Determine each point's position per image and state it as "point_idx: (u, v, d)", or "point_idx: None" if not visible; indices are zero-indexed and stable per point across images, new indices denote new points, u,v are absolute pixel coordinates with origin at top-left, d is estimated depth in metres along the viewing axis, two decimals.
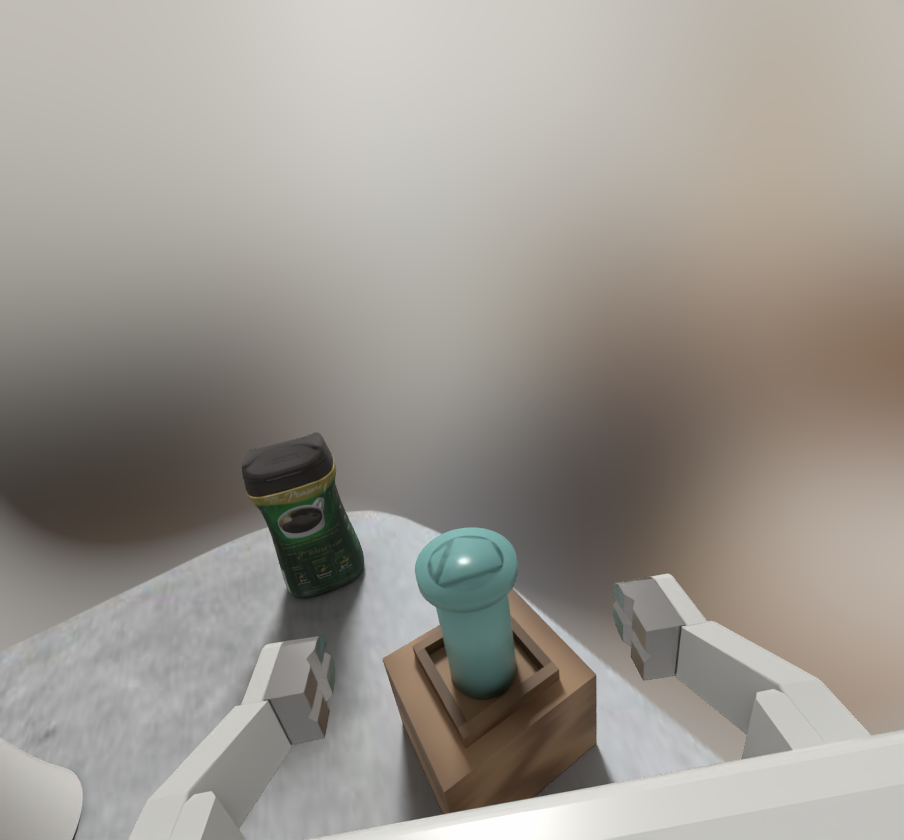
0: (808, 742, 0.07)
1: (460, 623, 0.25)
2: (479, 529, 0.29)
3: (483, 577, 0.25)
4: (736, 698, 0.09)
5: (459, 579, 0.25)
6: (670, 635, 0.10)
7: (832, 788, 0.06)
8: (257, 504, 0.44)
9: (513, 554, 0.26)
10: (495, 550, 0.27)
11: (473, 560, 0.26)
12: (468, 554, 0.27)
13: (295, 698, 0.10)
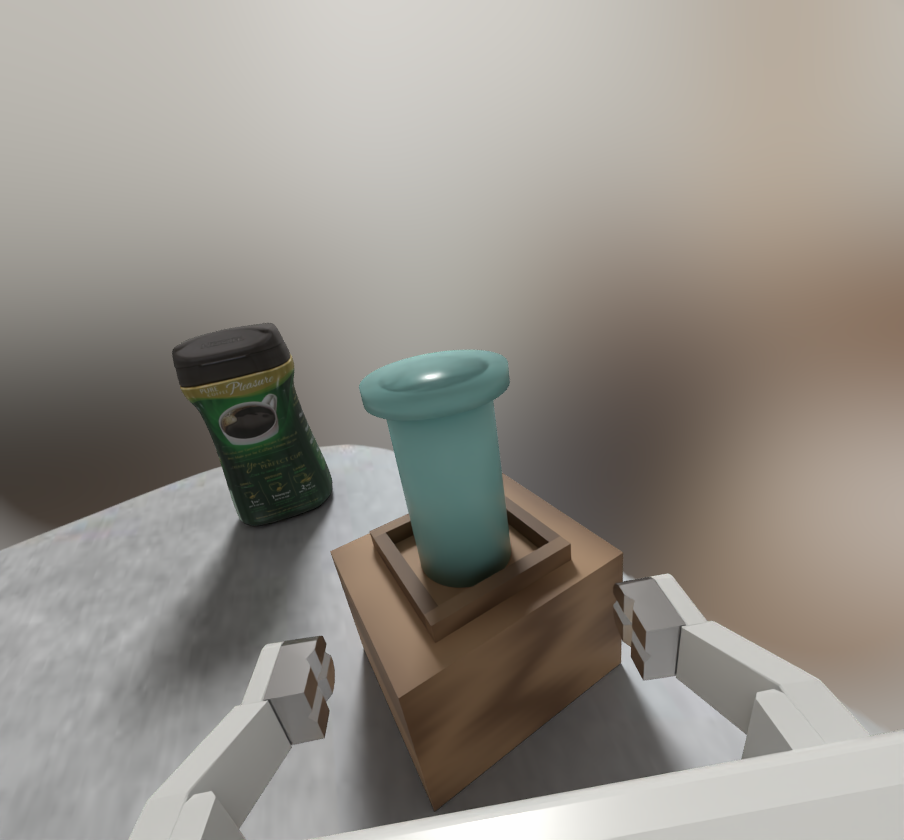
0: (808, 742, 0.07)
1: (425, 454, 0.17)
2: (456, 351, 0.20)
3: (457, 379, 0.17)
4: (736, 698, 0.09)
5: (422, 384, 0.17)
6: (670, 635, 0.10)
7: (832, 788, 0.06)
8: (192, 398, 0.36)
9: (503, 360, 0.18)
10: (476, 361, 0.18)
11: (444, 370, 0.18)
12: (438, 366, 0.18)
13: (295, 698, 0.10)
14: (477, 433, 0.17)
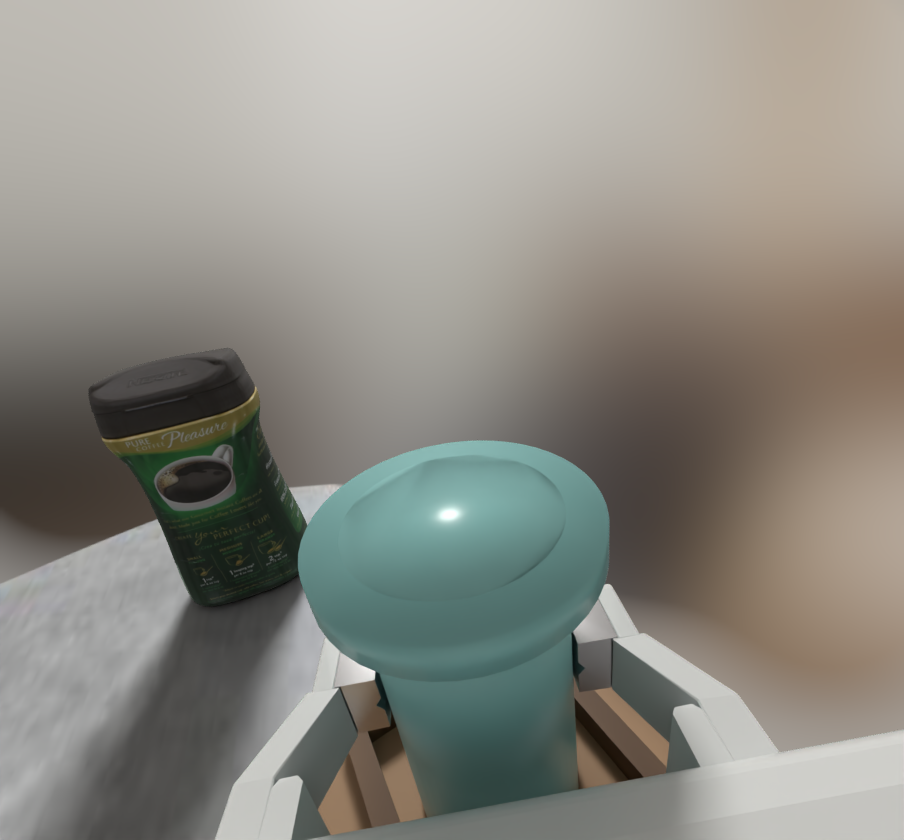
0: (717, 759, 0.07)
1: (433, 702, 0.08)
2: (487, 444, 0.11)
3: (507, 554, 0.08)
4: (663, 711, 0.09)
5: (428, 562, 0.08)
6: (603, 647, 0.10)
7: (832, 788, 0.06)
8: (117, 453, 0.27)
9: (591, 490, 0.09)
10: (534, 483, 0.09)
11: (473, 508, 0.09)
12: (459, 493, 0.09)
13: (366, 685, 0.10)
14: (544, 656, 0.08)
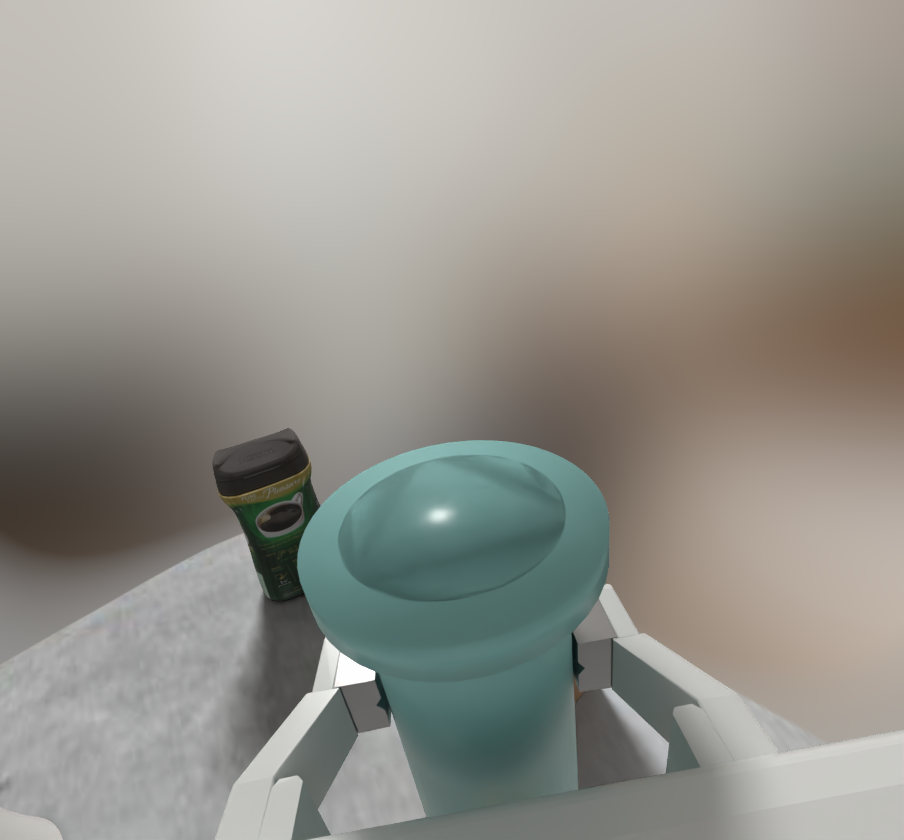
0: (716, 759, 0.07)
1: (433, 702, 0.08)
2: (487, 443, 0.11)
3: (507, 554, 0.08)
4: (663, 712, 0.09)
5: (428, 562, 0.08)
6: (602, 647, 0.10)
7: (832, 788, 0.06)
8: (232, 504, 0.42)
9: (591, 490, 0.09)
10: (535, 483, 0.09)
11: (473, 508, 0.09)
12: (459, 494, 0.09)
13: (365, 685, 0.10)
14: (544, 656, 0.08)
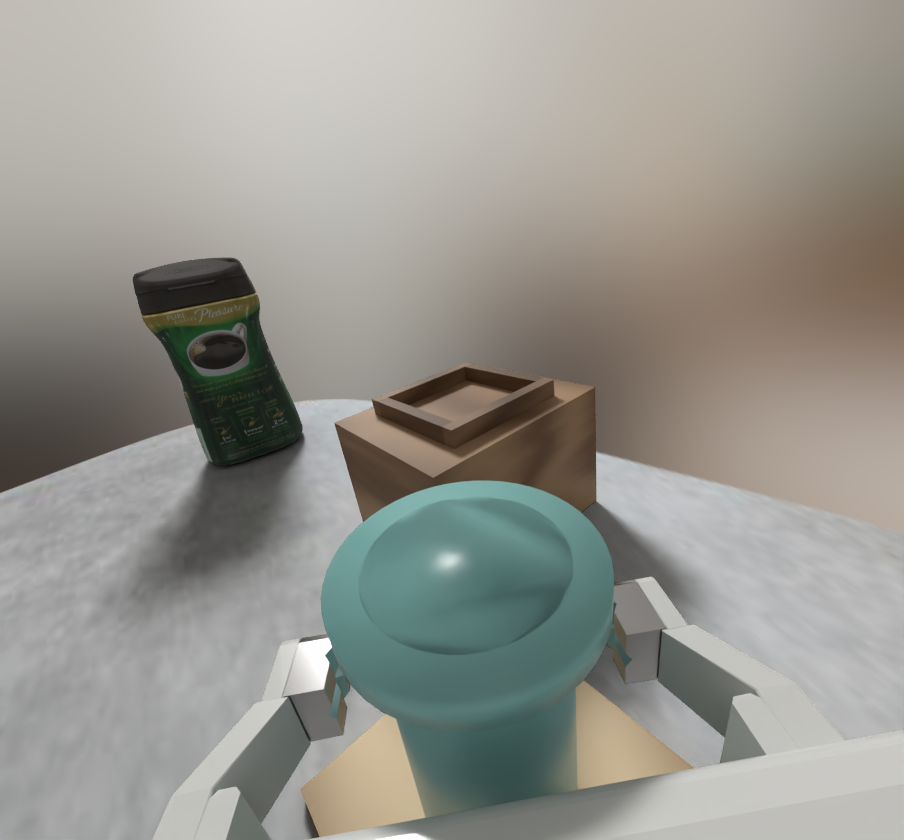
0: (782, 747, 0.07)
1: (447, 741, 0.09)
2: (496, 484, 0.12)
3: (519, 607, 0.08)
4: (715, 702, 0.09)
5: (445, 612, 0.08)
6: (651, 639, 0.10)
7: (832, 788, 0.06)
8: (157, 327, 0.35)
9: (596, 540, 0.09)
10: (543, 530, 0.10)
11: (485, 555, 0.09)
12: (471, 539, 0.10)
13: (315, 694, 0.10)
14: None
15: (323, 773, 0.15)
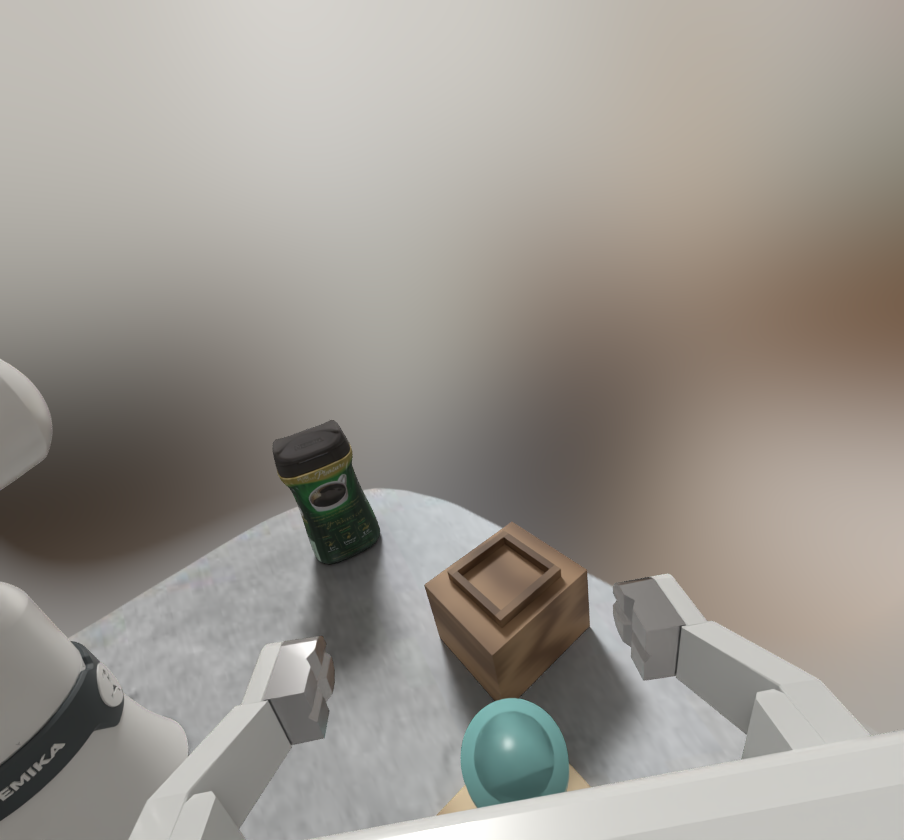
0: (808, 742, 0.07)
1: None
2: (525, 703, 0.27)
3: (534, 784, 0.24)
4: (736, 698, 0.09)
5: (508, 784, 0.24)
6: (670, 635, 0.10)
7: (832, 788, 0.06)
8: (290, 484, 0.51)
9: (564, 749, 0.25)
10: (544, 740, 0.25)
11: (521, 753, 0.25)
12: (515, 742, 0.26)
13: (295, 697, 0.10)
14: None
15: (443, 810, 0.31)
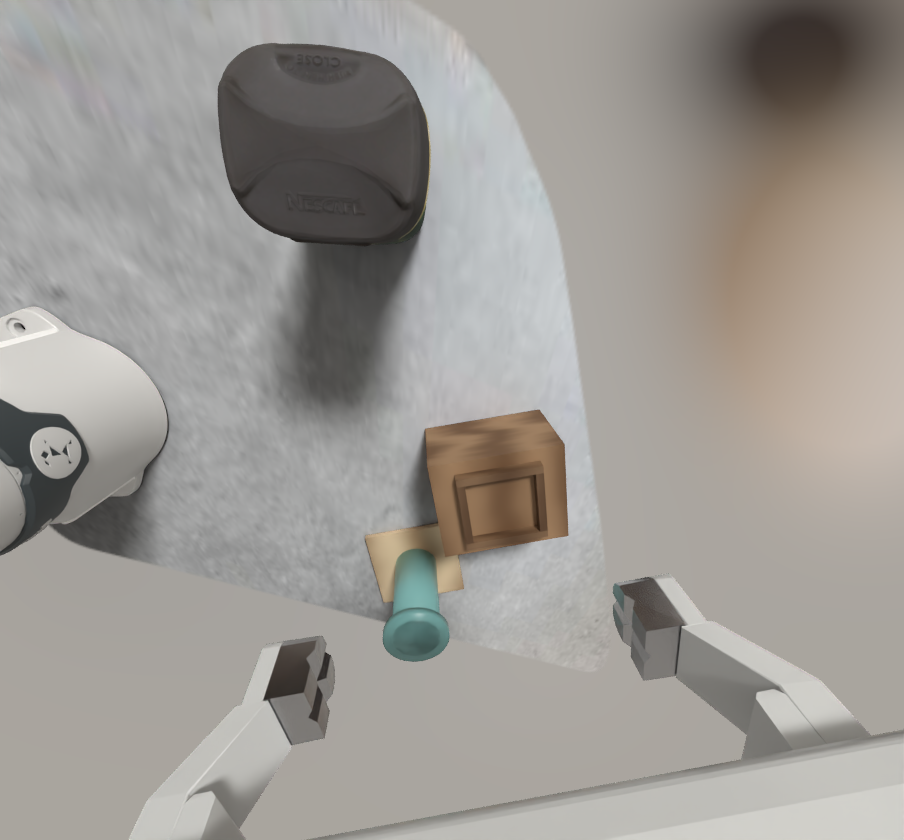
0: (808, 742, 0.07)
1: None
2: (440, 622, 0.40)
3: (418, 651, 0.41)
4: (736, 698, 0.09)
5: (405, 647, 0.41)
6: (670, 635, 0.10)
7: (832, 788, 0.06)
8: None
9: (443, 647, 0.41)
10: (436, 640, 0.41)
11: (420, 640, 0.40)
12: (421, 635, 0.40)
13: (296, 698, 0.10)
14: None
15: (372, 538, 0.47)
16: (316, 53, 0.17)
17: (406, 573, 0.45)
